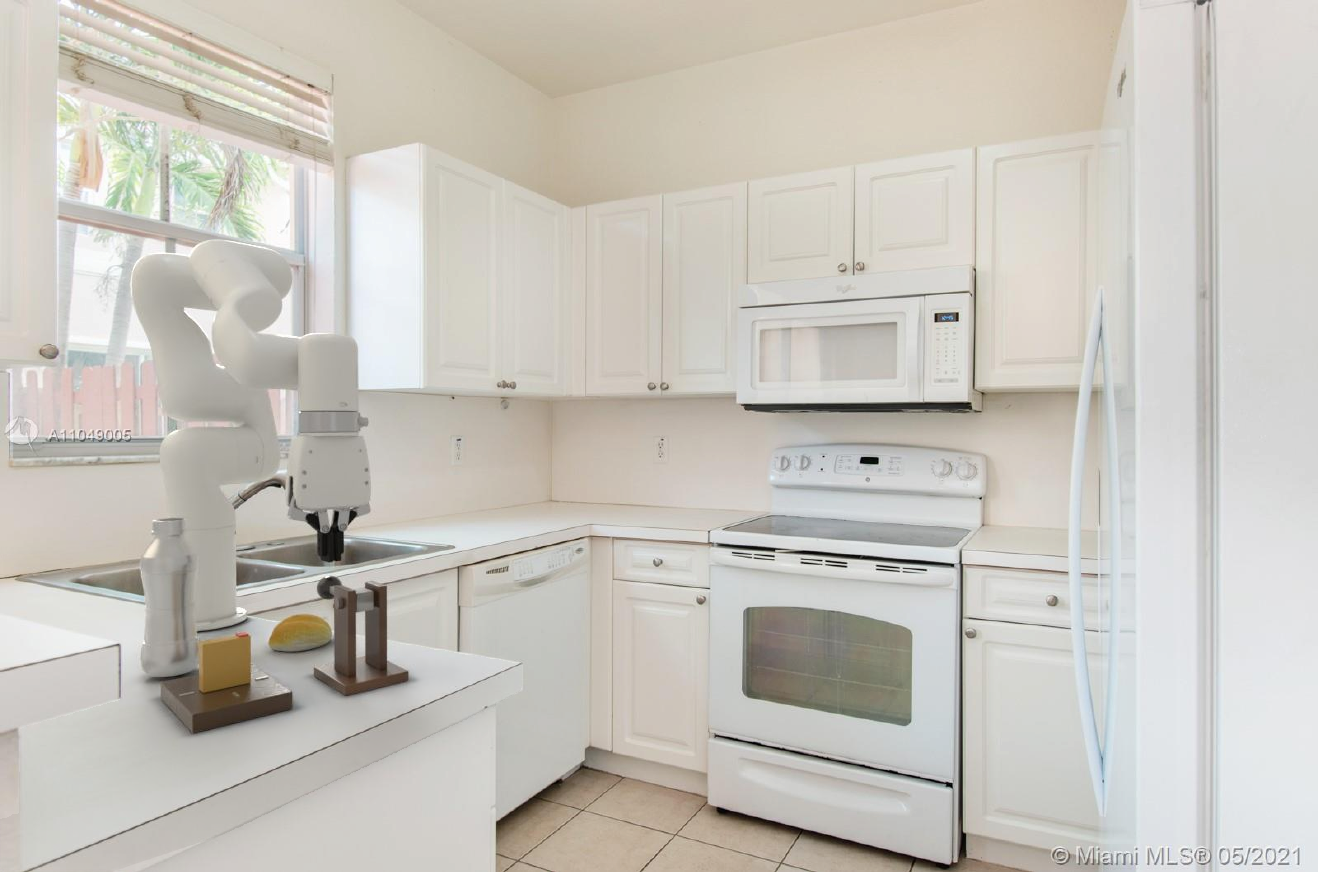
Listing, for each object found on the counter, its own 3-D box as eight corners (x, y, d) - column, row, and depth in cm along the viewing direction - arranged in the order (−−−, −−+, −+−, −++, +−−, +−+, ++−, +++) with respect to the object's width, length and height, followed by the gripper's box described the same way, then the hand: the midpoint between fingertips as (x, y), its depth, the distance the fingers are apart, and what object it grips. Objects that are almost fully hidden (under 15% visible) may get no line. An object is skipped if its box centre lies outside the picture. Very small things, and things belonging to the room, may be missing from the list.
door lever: (313, 599, 105) (313, 575, 105) (336, 595, 107) (336, 572, 107) (352, 616, 96) (352, 590, 96) (377, 612, 98) (377, 587, 98)
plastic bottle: (173, 685, 95) (171, 523, 95) (127, 681, 97) (125, 522, 96) (213, 668, 102) (212, 517, 101) (169, 665, 103) (168, 515, 103)
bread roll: (266, 655, 107) (266, 627, 107) (274, 638, 116) (273, 612, 116) (330, 649, 110) (330, 621, 110) (333, 633, 119) (333, 607, 119)
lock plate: (160, 698, 91) (160, 680, 91) (252, 679, 98) (252, 662, 98) (192, 733, 81) (192, 712, 81) (292, 708, 88) (292, 689, 88)
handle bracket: (313, 675, 99) (313, 584, 99) (374, 662, 105) (374, 575, 104) (345, 695, 92) (345, 597, 92) (408, 680, 97) (408, 587, 97)
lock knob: (202, 693, 87) (202, 642, 87) (199, 689, 88) (198, 639, 88) (251, 682, 90) (250, 633, 90) (246, 679, 91) (246, 631, 91)
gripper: (371, 425, 113) (372, 551, 113) (260, 426, 102) (262, 564, 102) (394, 425, 107) (395, 557, 107) (280, 425, 97) (282, 571, 97)
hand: (330, 560), depth 105 cm, fingers closed
